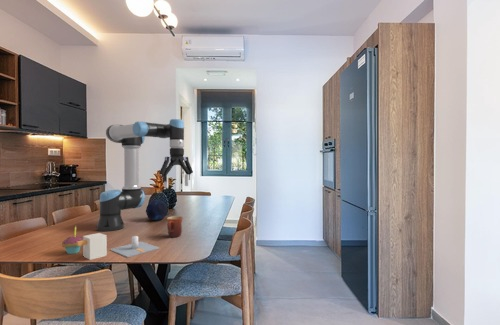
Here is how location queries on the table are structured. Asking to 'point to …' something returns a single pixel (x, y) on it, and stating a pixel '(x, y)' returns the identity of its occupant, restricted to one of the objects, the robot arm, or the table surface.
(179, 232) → the mug
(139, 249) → the post base
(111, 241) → the table surface
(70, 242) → the cupcake
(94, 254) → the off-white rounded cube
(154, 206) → the decorative orb
